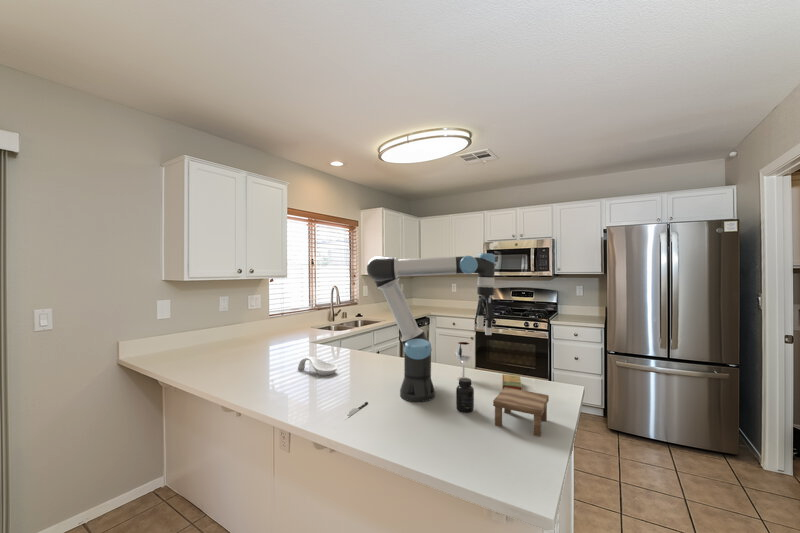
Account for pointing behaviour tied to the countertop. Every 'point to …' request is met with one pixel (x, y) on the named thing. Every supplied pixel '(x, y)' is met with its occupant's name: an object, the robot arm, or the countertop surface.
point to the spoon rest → (319, 366)
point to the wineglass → (463, 354)
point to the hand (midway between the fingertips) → (484, 332)
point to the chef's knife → (356, 409)
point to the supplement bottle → (465, 396)
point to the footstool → (521, 405)
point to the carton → (511, 382)
